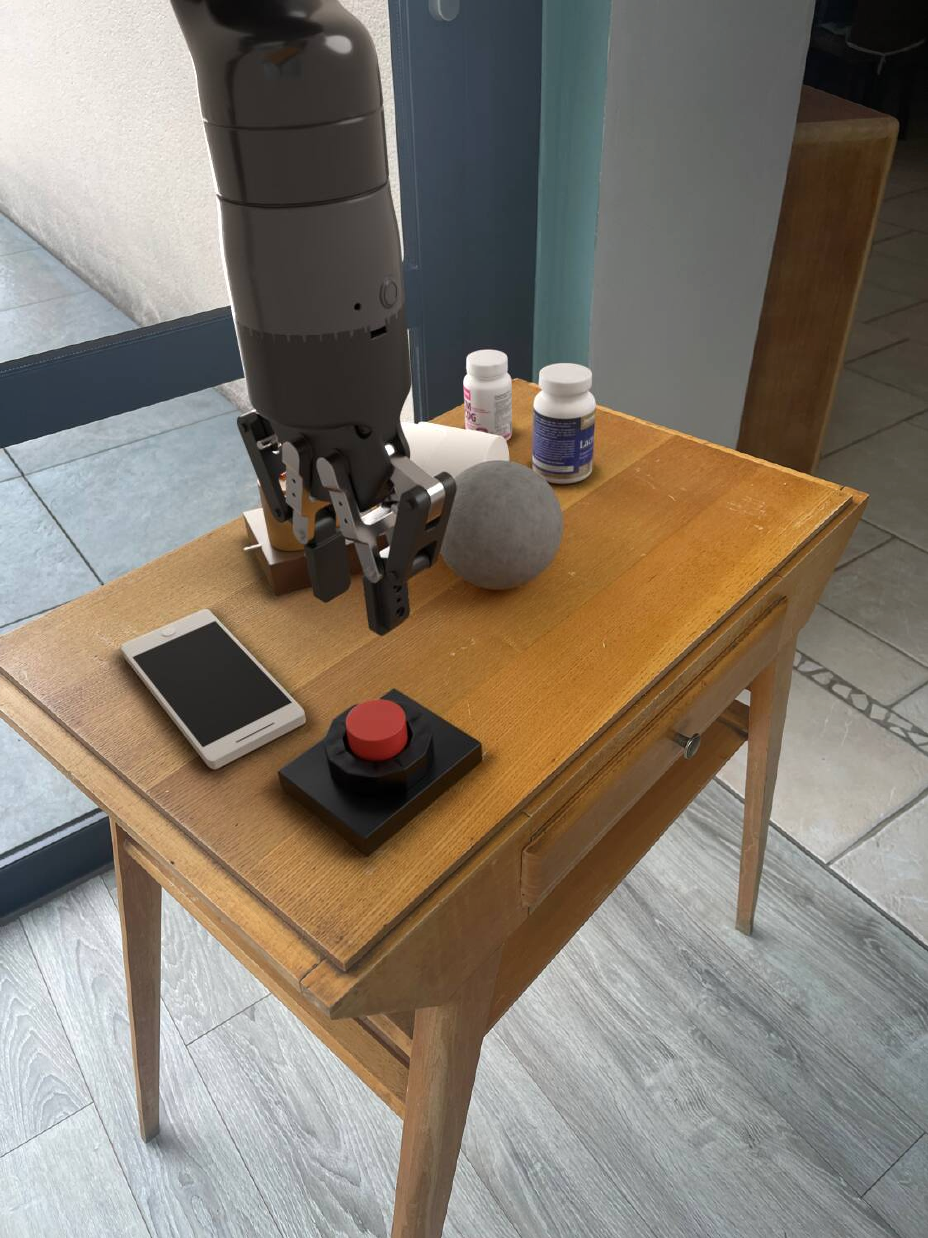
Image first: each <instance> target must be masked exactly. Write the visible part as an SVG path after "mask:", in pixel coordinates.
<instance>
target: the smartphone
mask: <svg viewBox="0 0 928 1238" xmlns="http://www.w3.org/2000/svg"><path fill="white" fill-rule="evenodd" d="M120 649H121V652H122V655H123V657H124V659H125V661H126V662H127V663H128V665H129V666H130V667H131V668H132V669H133V671H134V672H135V673H136V675H137V676H138V677H139V678H140V680H141V681H142V683H144V685H145V686H146V688H147V689H148V690H149V692H150V693H151V694H152V695H153V697H154V698H155V699H156V701H157V702H158V703H159V704H160V706H161V707H162V709H163V710H164V711H165V712H166V713H167V715H168V716H169V718H170V720H172V721H173V723H174V724H175V726H177V728H178V729H179V730H180V732H181V733H182V735H183V736H184V737H185V739H186V740H187V741H188V742H189V744H190V745H191V746H192V748H193V749H194V750H195V751H196V753H197V754H198V755H199V756H200V758H201V759H202V761H203V762H204V763H205V764H206V766H207V767H208V768H210V769H211V770H218V769H220V768H222V767H223V766H226V765H227V764H230V763H231V762H233V761H235V760H237V759H240V758H241V757H243V756H245V755H247V754H249V753H251V752H252V751H254V750H256V749H258V748H260V747H263V746H264V745H266V744H268V743H270V742H272V741H273V740H275V739H278V738H280V737H281V736H283V735H285V734H288V733H289V732H291V731H293V730H295V729H297V728H298V727H301V726H303V725H304V724H306V722H307V718H306V714H305V710H304V708H303V707H302V706H301V705H300V704H299V703H298V702H297V701H296V700H295V699H294V698H293V696H291V695H290V694H289V693H288V691H287V690H285V688H284V687H283V686H282V685H281V684H280V683H279V682H278V681H277V680H276V679H275V677H273V676H272V674H270V672H269V671H268V670H267V669H266V668H265V667H264V666H263V665H262V664H261V663H260V662H259V661H258V660H257V659H256V657H255V656H254V655H252V654H251V653H250V651H248V649H247V648H246V647H245V646H244V645H243V644H242V643H241V642H240V641H239V640H238V639H237V638H236V637H235V635H234V634H233V633H232V632H231V631H230V630H229V629H228V628H227V627H226V626H225V625H224V624H223V623H222V622H221V621H220V619H218V618H217V616H216V615H215V614H214V613H212V611H211V610H209V609H206V608H203V609H201V610H198V611H196V612H193V613H191V614H189V615H186V616H185V617H182V618H179V619H177V620H175V621H173V622H170V623H168V624H165V625H163V626H161V627H159V628H156V629H154V630H151V631H149V632H146V633H145V634H142V635H140V636H137V637H134V638H132V639H131V640H128V641H126V642H123V643H122V644H121V645H120Z"/></svg>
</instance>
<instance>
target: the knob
mask: <svg viewBox="0 0 928 1238" xmlns="http://www.w3.org/2000/svg"><path fill="white" fill-rule="evenodd" d="M279 483H280V485H281V488H282V490H283V493H284V496H286V472H285V473H283V474H281V475H280V476H279ZM256 484H257V488H258V493H259V497H260V503H261V508H263V513H264V518H265V523H266V528H267V533H268V538H269V542H270V544H271V545H272V546H273V547H275V548H276V549H279V550H283V551H299V550H303V549H304V545H303V544H301V543H300V542H299V541H298V540H297V539H296V537H295V535H294V532H293V525H292V524H291V523H290V522H289V521H288V520H287V521H285V522H283V523H279V522H278V521H276V519H275V518H274V517H273V515H272V513H271V511H270V508H269V506H268V503H267V501H266V498H265V495H264V493H263V490H262V488H261V485H260V483H259V480H258V479H257V481H256Z"/></svg>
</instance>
